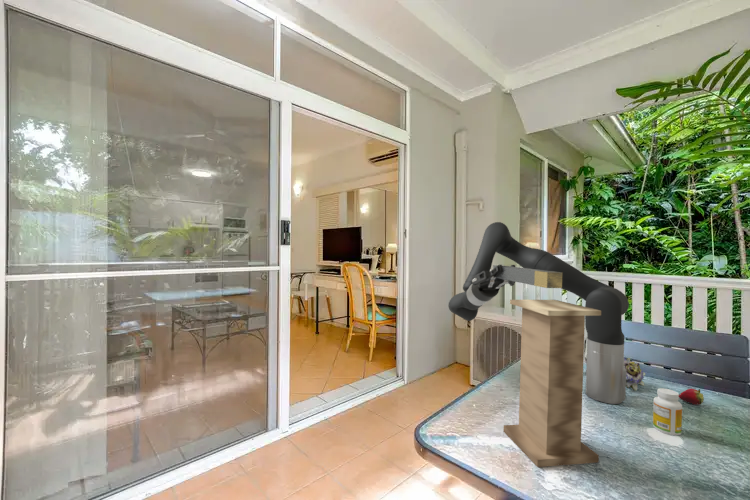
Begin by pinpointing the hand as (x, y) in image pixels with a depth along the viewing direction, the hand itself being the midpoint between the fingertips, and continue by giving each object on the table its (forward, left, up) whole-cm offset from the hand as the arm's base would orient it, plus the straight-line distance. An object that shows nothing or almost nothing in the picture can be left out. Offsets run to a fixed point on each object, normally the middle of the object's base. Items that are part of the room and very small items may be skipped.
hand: (507, 267), depth 92 cm
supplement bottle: (-35, +16, -39) cm, 55 cm away
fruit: (-58, +4, -39) cm, 70 cm away
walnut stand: (0, +19, -39) cm, 43 cm away
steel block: (0, +7, -3) cm, 8 cm away
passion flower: (-49, -10, -39) cm, 64 cm away
